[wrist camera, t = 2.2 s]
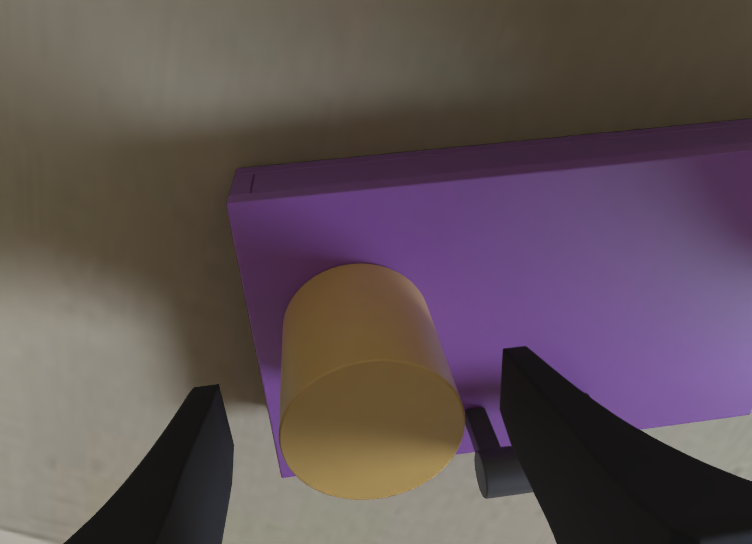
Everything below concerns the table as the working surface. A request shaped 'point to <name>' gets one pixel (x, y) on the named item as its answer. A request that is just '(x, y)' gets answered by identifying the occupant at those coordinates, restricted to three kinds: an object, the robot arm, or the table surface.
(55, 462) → the table surface
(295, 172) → the purple box base
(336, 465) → the cylinder
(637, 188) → the cover
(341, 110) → the table surface
